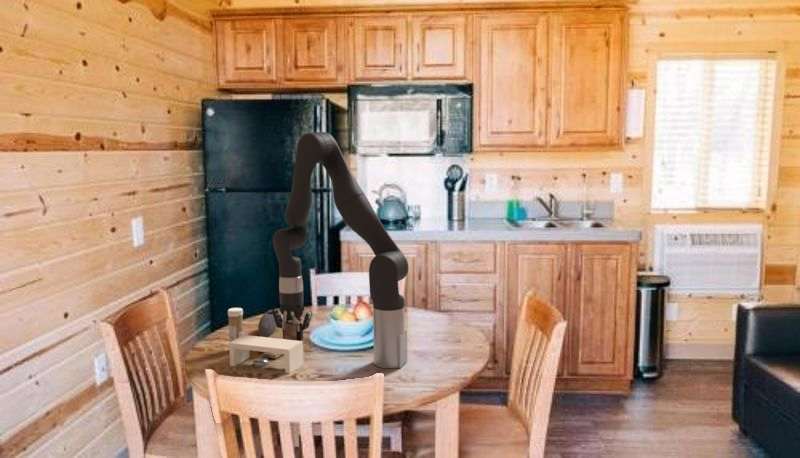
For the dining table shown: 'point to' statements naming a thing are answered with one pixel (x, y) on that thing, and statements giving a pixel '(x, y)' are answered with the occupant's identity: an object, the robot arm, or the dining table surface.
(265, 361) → the silver metal dome
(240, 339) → the shelf
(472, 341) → the dining table surface
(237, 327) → the sprinkles bottle
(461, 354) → the dining table surface
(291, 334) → the brown l-shaped block
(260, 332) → the perforated stone tool
